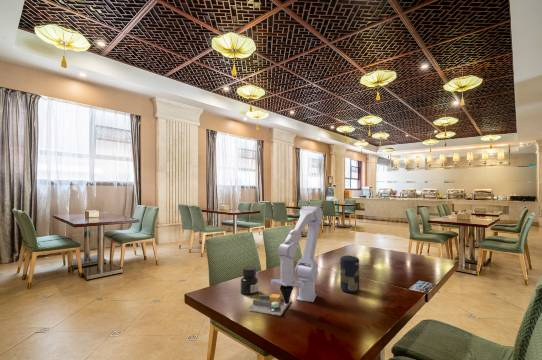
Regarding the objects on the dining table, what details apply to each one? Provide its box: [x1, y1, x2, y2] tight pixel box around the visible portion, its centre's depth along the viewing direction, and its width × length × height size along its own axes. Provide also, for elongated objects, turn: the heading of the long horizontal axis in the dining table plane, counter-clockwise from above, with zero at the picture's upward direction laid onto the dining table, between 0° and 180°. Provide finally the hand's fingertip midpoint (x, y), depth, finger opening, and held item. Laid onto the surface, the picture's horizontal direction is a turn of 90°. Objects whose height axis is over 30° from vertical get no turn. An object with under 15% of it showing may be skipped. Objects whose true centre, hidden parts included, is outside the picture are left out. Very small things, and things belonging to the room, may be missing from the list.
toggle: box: [269, 293, 282, 304], centre depth 118 cm, size 4×4×3 cm
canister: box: [339, 254, 360, 294], centre depth 139 cm, size 10×10×18 cm
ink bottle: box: [240, 266, 259, 296], centre depth 136 cm, size 10×9×12 cm
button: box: [271, 302, 279, 308], centre depth 112 cm, size 3×3×1 cm
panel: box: [249, 294, 292, 317], centre depth 119 cm, size 16×14×3 cm
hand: (287, 303), depth 116 cm, fingers closed
